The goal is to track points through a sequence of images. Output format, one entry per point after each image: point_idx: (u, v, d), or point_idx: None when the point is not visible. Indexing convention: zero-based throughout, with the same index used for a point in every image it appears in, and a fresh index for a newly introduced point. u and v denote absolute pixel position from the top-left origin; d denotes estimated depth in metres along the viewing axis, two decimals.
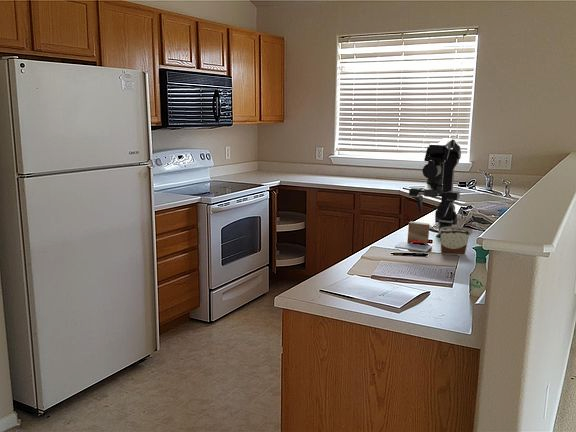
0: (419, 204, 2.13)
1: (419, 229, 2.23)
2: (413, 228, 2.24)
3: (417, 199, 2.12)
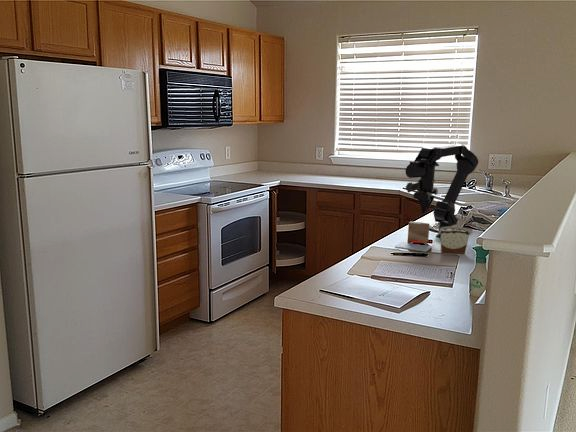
0: None
1: (419, 229, 2.23)
2: (413, 228, 2.24)
3: None
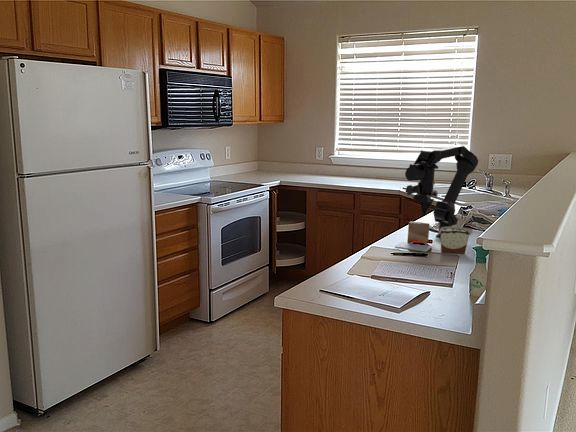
0: None
1: (419, 229, 2.23)
2: (413, 228, 2.24)
3: None
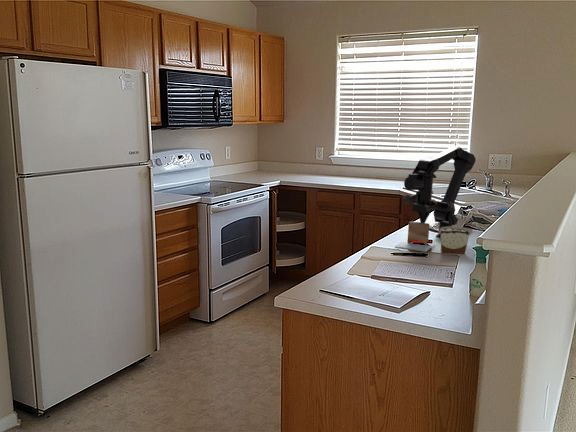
0: None
1: (419, 229, 2.23)
2: (413, 228, 2.24)
3: None
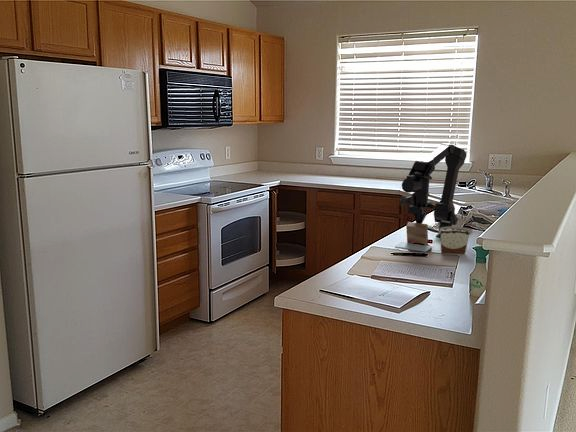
0: None
1: (417, 231, 2.21)
2: (411, 230, 2.22)
3: None
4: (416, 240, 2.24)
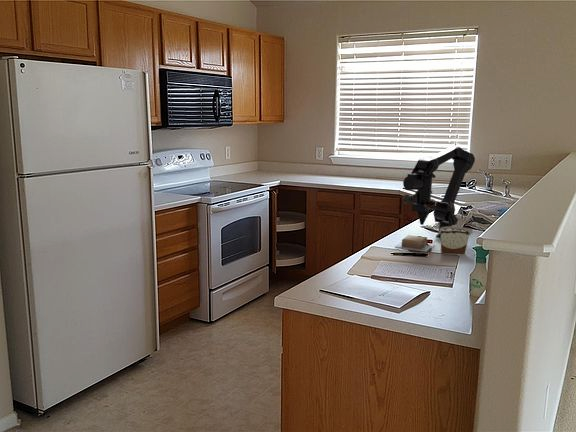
0: None
1: None
2: None
3: None
4: None
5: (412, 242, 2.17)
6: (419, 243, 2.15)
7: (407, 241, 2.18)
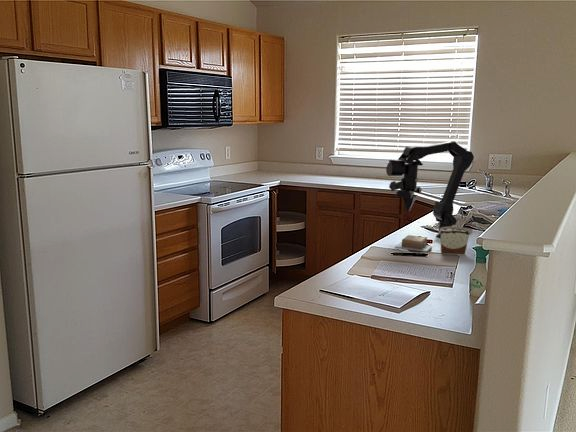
0: None
1: None
2: None
3: None
4: None
5: (412, 242, 2.17)
6: (419, 243, 2.15)
7: (407, 241, 2.18)
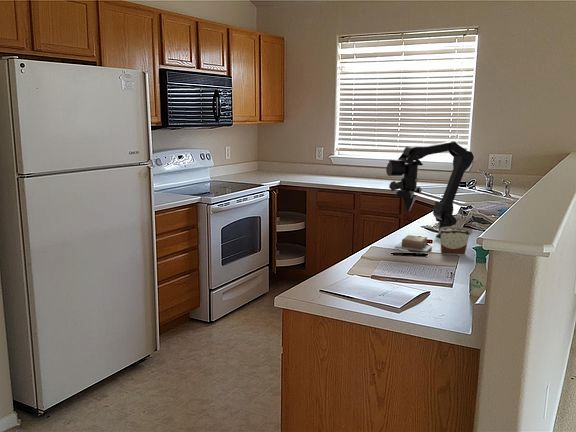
0: None
1: None
2: None
3: None
4: None
5: (412, 242, 2.17)
6: (419, 243, 2.15)
7: (407, 241, 2.18)
